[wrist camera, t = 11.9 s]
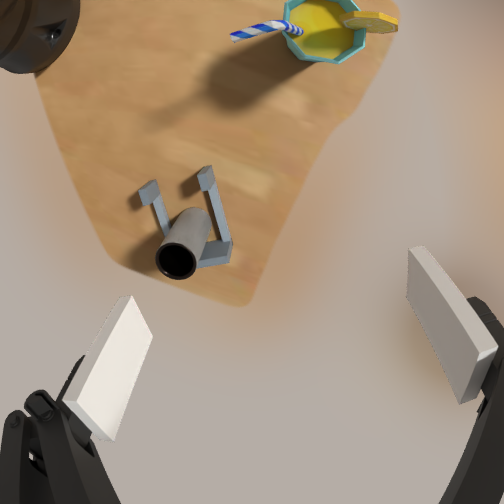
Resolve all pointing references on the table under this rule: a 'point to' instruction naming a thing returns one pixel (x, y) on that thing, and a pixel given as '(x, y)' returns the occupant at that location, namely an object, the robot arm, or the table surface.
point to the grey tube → (184, 244)
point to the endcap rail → (217, 249)
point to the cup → (323, 29)
